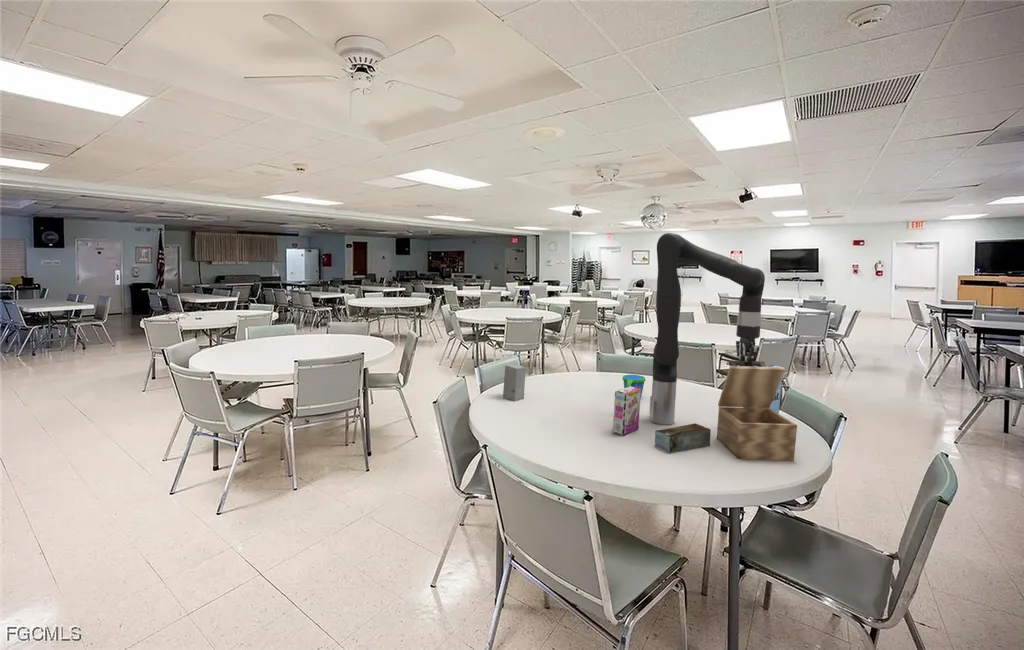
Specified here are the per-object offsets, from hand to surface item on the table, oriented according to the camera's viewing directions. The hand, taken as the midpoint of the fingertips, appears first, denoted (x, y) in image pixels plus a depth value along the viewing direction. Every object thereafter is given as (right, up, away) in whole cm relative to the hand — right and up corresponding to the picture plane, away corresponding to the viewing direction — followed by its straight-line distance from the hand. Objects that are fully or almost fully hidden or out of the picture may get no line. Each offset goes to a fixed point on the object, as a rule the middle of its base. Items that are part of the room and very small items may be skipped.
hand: (745, 370), depth 168 cm
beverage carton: (-25, -26, -5) cm, 36 cm away
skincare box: (-84, -18, +51) cm, 100 cm away
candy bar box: (-41, -24, +9) cm, 48 cm away
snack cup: (-26, -19, +55) cm, 64 cm away
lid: (0, -6, -5) cm, 8 cm away
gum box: (+16, -24, +19) cm, 34 cm away
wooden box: (-1, -27, -7) cm, 27 cm away
